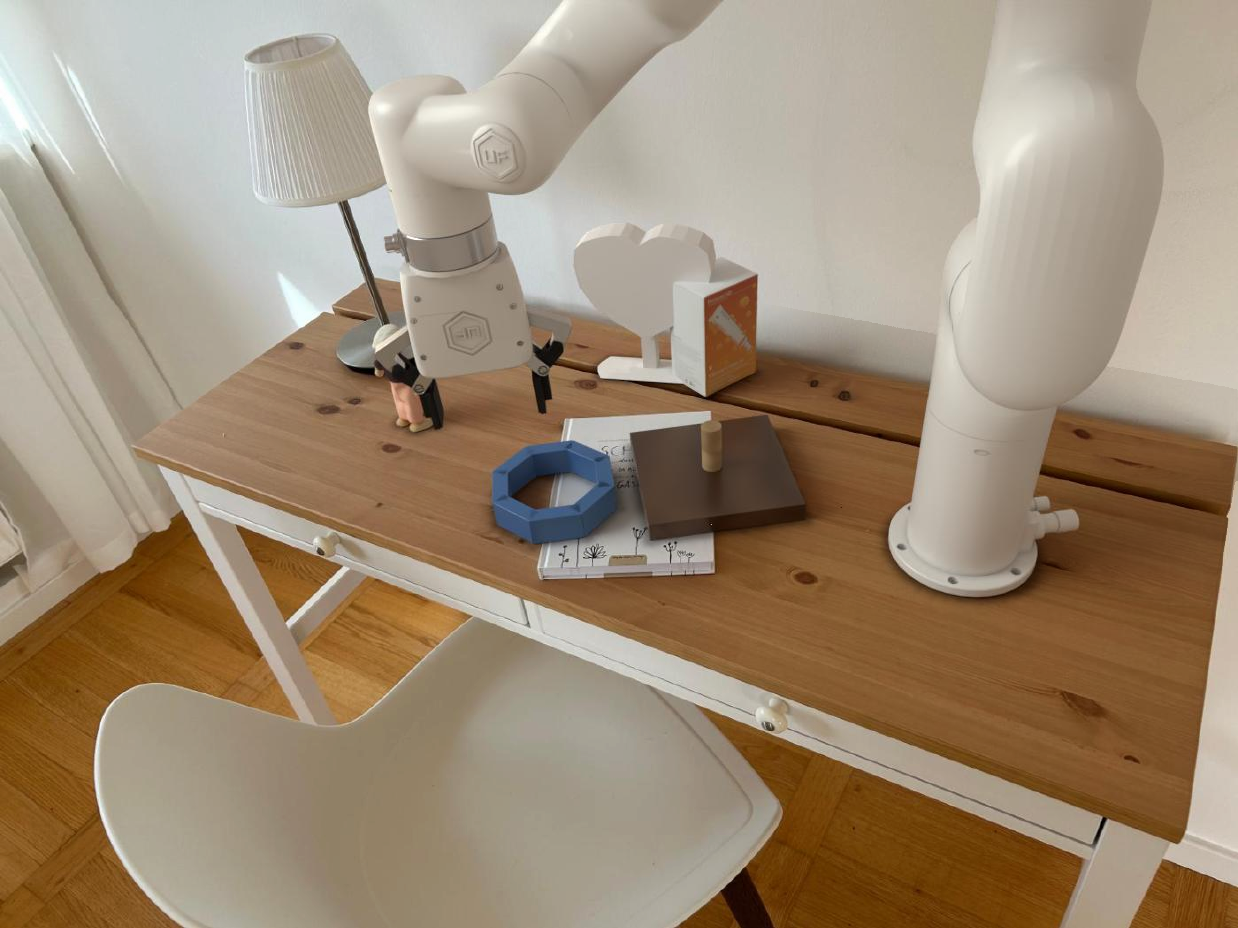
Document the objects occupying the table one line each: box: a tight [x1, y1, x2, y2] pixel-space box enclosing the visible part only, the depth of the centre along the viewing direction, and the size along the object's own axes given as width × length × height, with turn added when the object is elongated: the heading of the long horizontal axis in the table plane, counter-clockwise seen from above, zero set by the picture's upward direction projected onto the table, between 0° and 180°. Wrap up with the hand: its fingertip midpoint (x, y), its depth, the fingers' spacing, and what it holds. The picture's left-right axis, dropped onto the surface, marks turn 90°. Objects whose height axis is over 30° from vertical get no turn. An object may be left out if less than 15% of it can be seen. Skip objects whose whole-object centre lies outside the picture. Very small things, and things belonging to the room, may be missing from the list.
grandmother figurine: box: [371, 323, 434, 433], centre depth 101 cm, size 8×4×13 cm, turn 62°
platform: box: [629, 414, 807, 542], centre depth 90 cm, size 15×15×7 cm
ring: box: [491, 439, 618, 545], centre depth 90 cm, size 12×12×3 cm
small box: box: [669, 256, 759, 398], centre depth 103 cm, size 8×6×13 cm
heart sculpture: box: [572, 222, 717, 385], centre depth 103 cm, size 16×5×18 cm, turn 76°
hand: (491, 413), depth 84 cm, fingers open, 9 cm apart
